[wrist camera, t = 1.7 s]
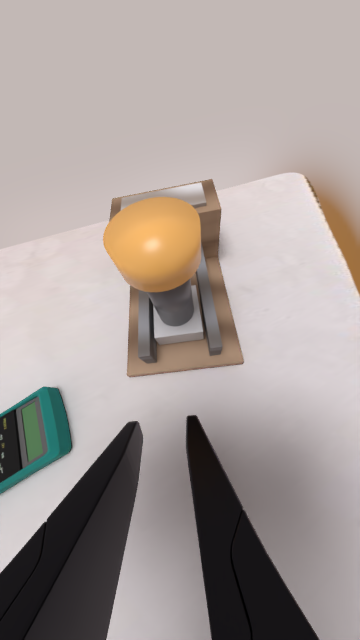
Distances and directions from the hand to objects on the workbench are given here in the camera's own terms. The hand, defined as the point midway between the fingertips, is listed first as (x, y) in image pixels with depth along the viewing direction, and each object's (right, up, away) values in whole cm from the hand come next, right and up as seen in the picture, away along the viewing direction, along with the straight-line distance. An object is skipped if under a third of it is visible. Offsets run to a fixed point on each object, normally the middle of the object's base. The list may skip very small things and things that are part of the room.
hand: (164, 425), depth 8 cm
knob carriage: (+1, +5, +15) cm, 16 cm away
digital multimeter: (-18, -10, +13) cm, 24 cm away
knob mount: (0, +8, +18) cm, 20 cm away
